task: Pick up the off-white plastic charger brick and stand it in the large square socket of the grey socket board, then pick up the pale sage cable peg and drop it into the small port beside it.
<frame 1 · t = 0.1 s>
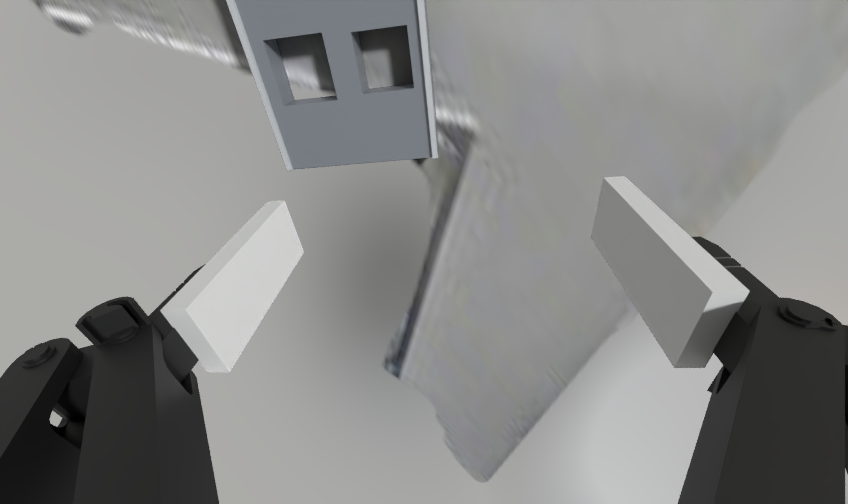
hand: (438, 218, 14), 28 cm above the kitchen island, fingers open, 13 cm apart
grey socket board: (347, 63, 36), on the kitchen island
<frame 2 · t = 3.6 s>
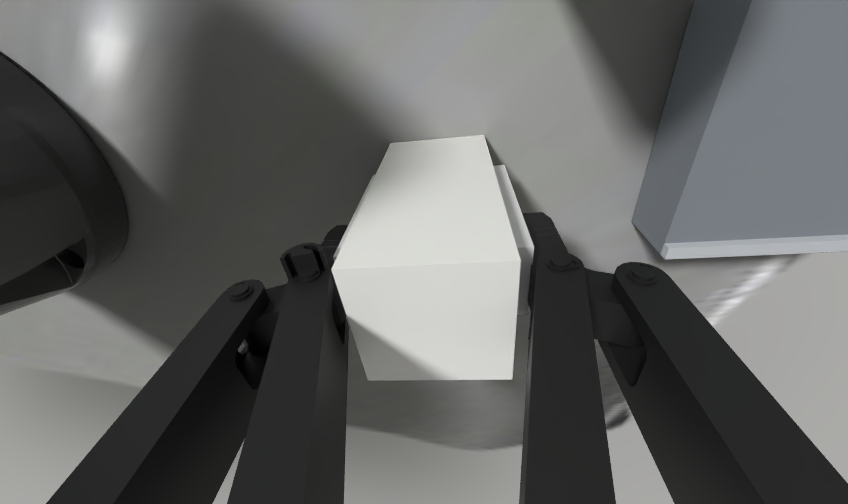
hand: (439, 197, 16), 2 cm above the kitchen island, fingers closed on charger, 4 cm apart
charger: (440, 182, 17), on the kitchen island, touching gripper
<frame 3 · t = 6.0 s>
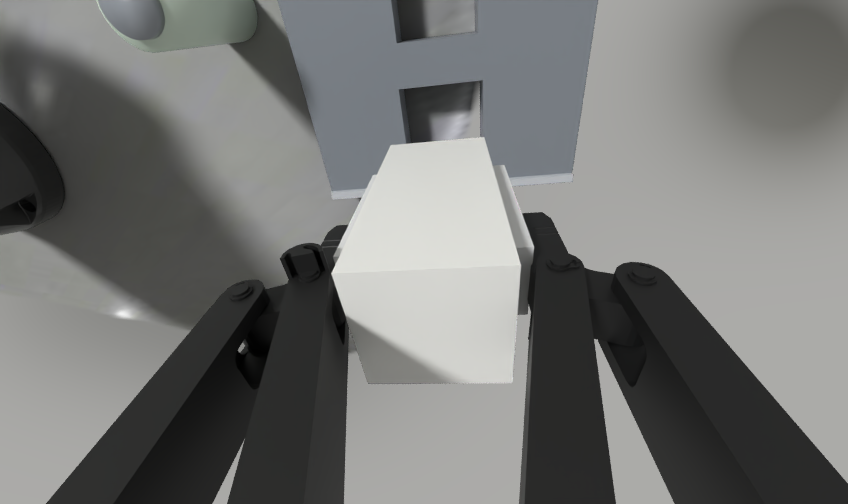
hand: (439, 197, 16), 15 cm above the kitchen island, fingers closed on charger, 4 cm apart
cable peg: (229, 10, 25), on the kitchen island
grey socket board: (439, 64, 26), on the kitchen island
charger: (440, 184, 17), point 13 cm above the kitchen island, touching gripper
when the fingers open (4 cm above the kitchen island, at t = 8.2 s): charger drops 2 cm, resting in grey socket board.
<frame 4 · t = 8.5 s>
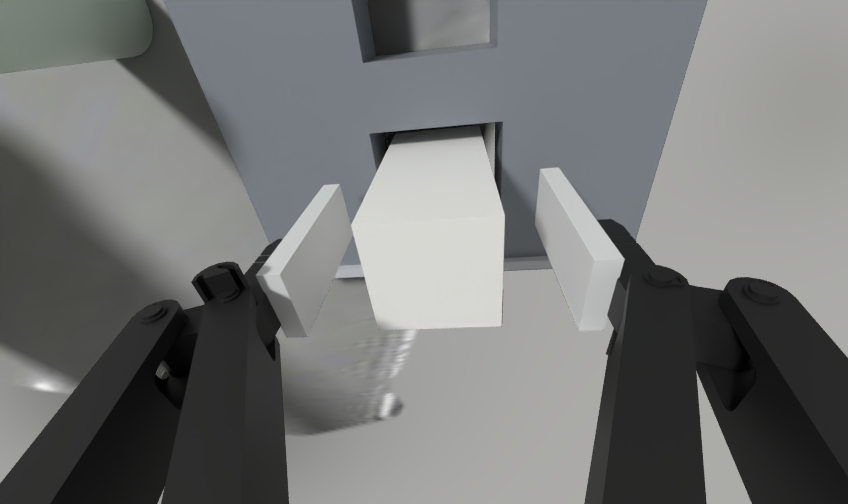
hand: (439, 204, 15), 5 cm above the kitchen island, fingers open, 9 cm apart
cable peg: (107, 8, 16), on the kitchen island
grey socket board: (435, 91, 17), on the kitchen island
charger: (440, 169, 19), resting in grey socket board
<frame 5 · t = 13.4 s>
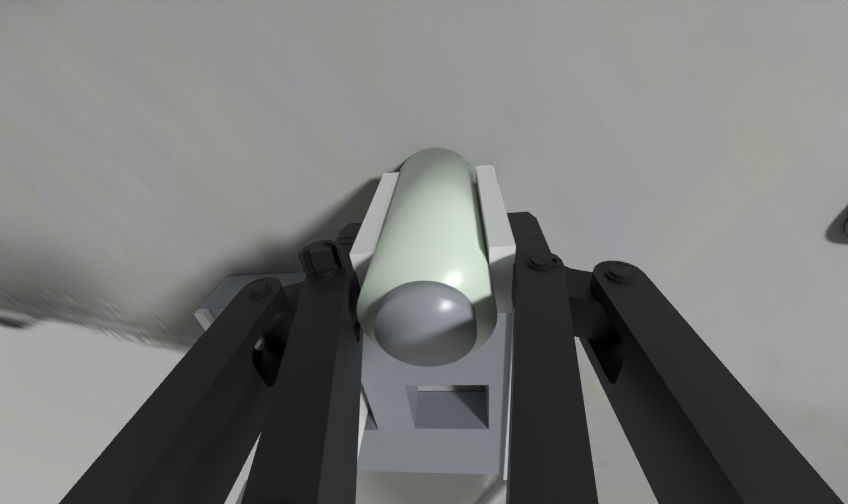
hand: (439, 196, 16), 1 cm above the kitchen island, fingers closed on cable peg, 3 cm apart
cable peg: (436, 187, 17), on the kitchen island, touching gripper
grey socket board: (391, 371, 26), on the kitchen island
charger: (339, 370, 26), resting in grey socket board
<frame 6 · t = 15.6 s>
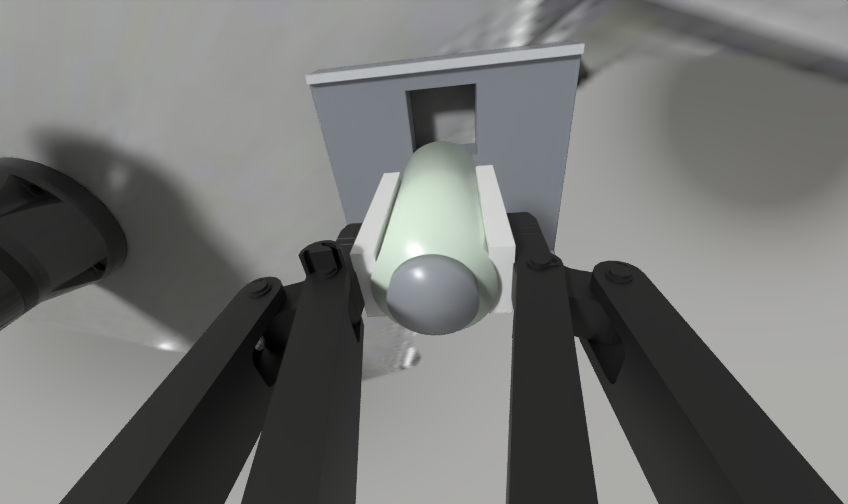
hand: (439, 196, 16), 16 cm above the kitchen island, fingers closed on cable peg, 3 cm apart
cable peg: (441, 178, 18), point 14 cm above the kitchen island, touching gripper
grey socket board: (446, 164, 32), on the kitchen island
when the fingers open (4 cm above the kitchen island, at t = 18.0 s): cable peg drops 2 cm, resting in grey socket board.
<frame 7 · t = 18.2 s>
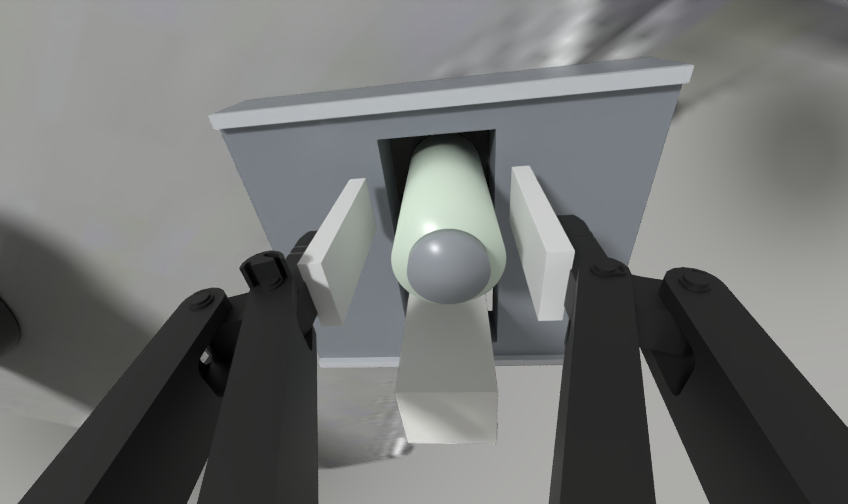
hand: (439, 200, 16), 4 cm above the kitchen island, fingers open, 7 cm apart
cable peg: (445, 168, 19), resting in grey socket board
grey socket board: (446, 234, 22), on the kitchen island
charger: (449, 283, 24), resting in grey socket board
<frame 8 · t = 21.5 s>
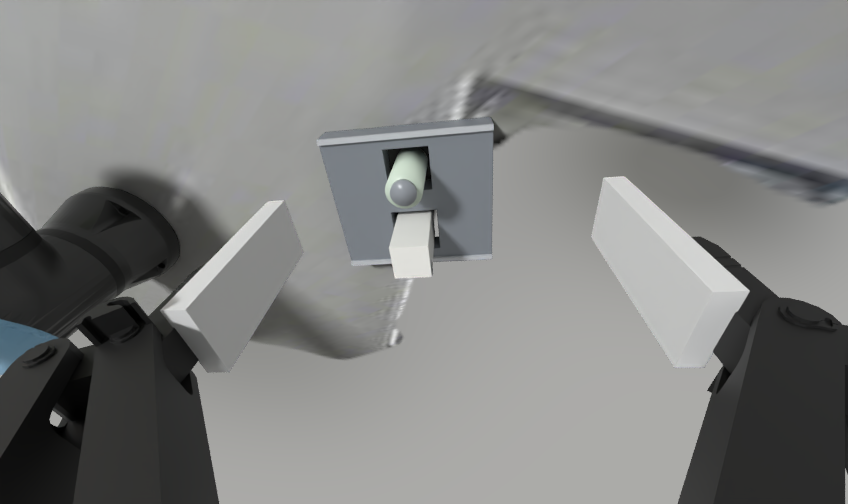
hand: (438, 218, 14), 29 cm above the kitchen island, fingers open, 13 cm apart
cable peg: (412, 161, 43), resting in grey socket board
grey socket board: (414, 193, 45), on the kitchen island
charger: (417, 220, 47), resting in grey socket board
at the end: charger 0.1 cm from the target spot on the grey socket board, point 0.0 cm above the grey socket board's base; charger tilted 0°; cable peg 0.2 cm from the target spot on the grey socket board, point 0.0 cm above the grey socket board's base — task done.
